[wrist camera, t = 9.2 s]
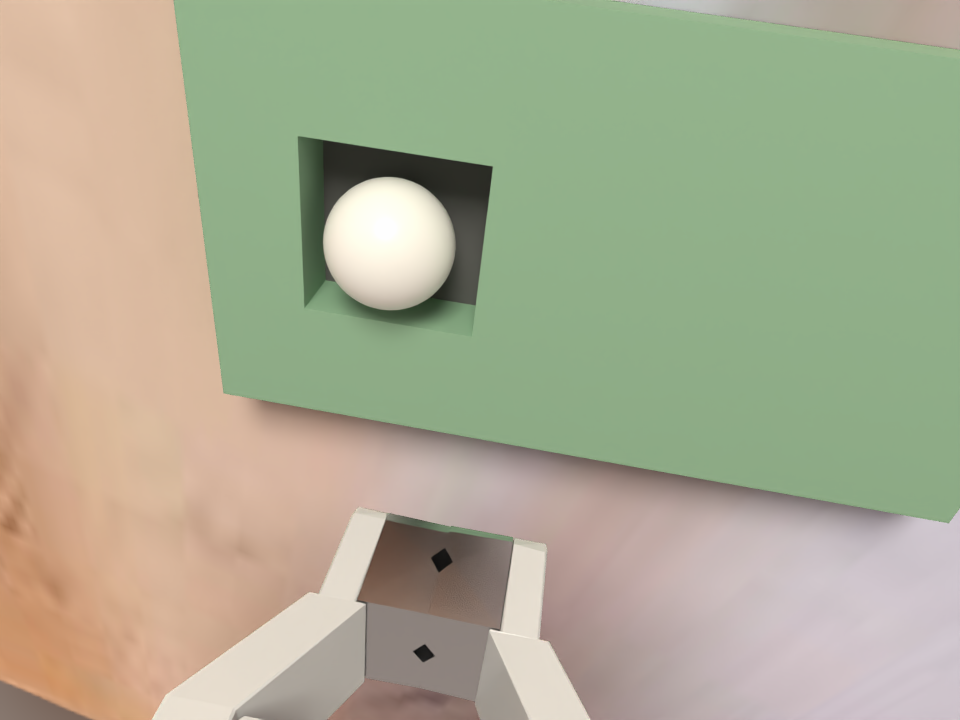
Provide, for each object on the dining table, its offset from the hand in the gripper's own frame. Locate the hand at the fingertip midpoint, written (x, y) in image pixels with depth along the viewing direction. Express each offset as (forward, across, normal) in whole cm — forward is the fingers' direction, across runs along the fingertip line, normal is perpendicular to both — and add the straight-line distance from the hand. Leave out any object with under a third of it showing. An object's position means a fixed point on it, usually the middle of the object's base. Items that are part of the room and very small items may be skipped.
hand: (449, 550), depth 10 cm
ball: (+11, +4, 0) cm, 12 cm away
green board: (+14, -3, 0) cm, 14 cm away
